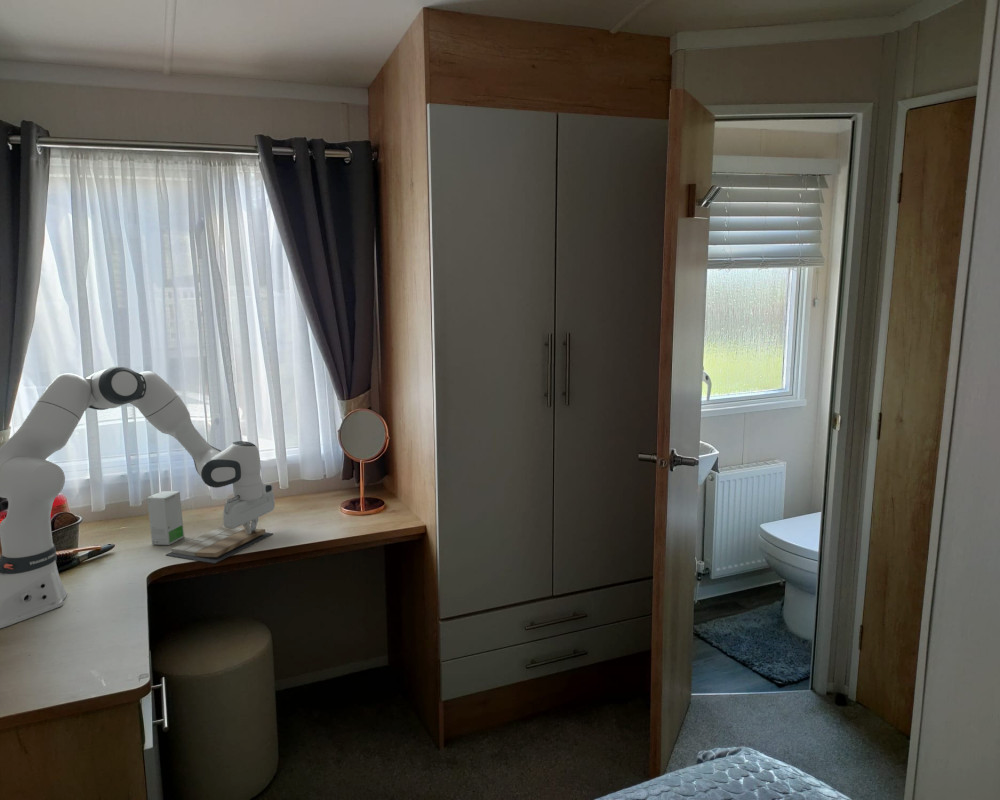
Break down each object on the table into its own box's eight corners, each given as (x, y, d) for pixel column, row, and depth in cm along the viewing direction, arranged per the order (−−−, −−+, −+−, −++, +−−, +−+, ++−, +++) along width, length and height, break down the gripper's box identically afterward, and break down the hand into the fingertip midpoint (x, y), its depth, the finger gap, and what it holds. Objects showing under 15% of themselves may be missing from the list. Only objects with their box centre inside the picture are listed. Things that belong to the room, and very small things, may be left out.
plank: (216, 557, 214) (215, 553, 214) (195, 556, 217) (195, 552, 217) (265, 532, 234) (265, 529, 234) (246, 532, 237) (245, 528, 237)
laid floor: (194, 556, 217) (194, 552, 217) (172, 552, 220) (171, 548, 220) (245, 532, 237) (245, 528, 237) (223, 529, 240) (223, 525, 240)
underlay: (214, 563, 212) (214, 562, 212) (165, 555, 219) (165, 554, 219) (272, 534, 236) (272, 533, 235) (226, 527, 242) (226, 526, 242)
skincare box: (168, 546, 227) (164, 498, 224) (150, 544, 228) (145, 497, 225) (185, 536, 235) (180, 490, 232) (167, 535, 236) (162, 489, 233)
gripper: (232, 502, 218) (236, 545, 220) (276, 483, 237) (279, 523, 239) (216, 499, 220) (220, 542, 223) (261, 481, 239) (264, 521, 241)
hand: (251, 532), depth 231 cm, fingers closed, pressing on plank
